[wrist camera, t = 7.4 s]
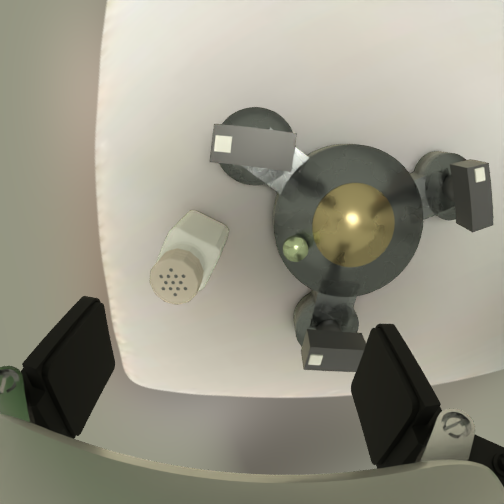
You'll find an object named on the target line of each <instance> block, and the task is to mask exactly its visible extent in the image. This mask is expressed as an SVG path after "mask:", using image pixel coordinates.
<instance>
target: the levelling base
mask: <svg viewBox="0 0 504 504" xmlns="http://www.w3.org/2000/svg"><path fill="white" fill-rule="evenodd" d="M223 125H234V126H243V127H252V128H261V129H268V130H276V131H283V132H290V133H293V132H292V130H291V128H290V126H289V124H288V123H287V122H286V121H285V120H284V119H283V118H282V117H281V116H280V115H278V114H277V113H275V112H273V111H271V110H268V109H265V108H259V107H252V108H245V109H242V110H239V111H237V112H235V113H234V114H232V115H231V116H229V117H228V118H227V119H226V120H225V121H224V123H223ZM461 161H466V159H465V158H463V157H462V156H460V155H458V154H454V153H448V152H441V151H434V152H430V153H428V154H426V155H425V156H423V157H422V158H421V159H420V161H419V162H418V164H417V165H416V167H415V170H414V172H412V173H409V172H408V171H407V170H406V169H405V167H404V166H403V165H402V164H401V163H400V162H398V161H397V160H396V159H395V158H393V157H392V156H390V155H389V154H387V153H385V152H383V151H381V150H379V149H376V148H373V147H370V146H364V145H356V144H337V145H331V146H327V147H324V148H321V149H318V150H316V151H314V152H312V153H310V154H309V155H307V156H306V155H305V154H304V153H302V152H301V151H300V150H299V149H297V148H296V147H295V150H294V157H293V164H292V171H291V172H288V171H282V170H274V169H267V168H259V167H251V166H243V165H234V164H225V163H219V164H220V165H221V167H222V168H223V170H224V171H225V172H226V173H227V174H228V175H229V176H230V177H231V178H233V179H235V180H236V181H239V182H241V183H244V184H248V185H263V184H267V185H268V186H270V187H271V188H272V189H274V190H275V191H276V192H278V194H277V196H276V200H275V205H274V214H273V220H274V233H275V239H276V244H277V247H278V250H279V253H280V256H281V258H282V260H283V262H284V263H285V265H286V266H287V268H288V269H289V271H290V272H291V273H292V274H293V275H294V276H295V277H296V278H297V279H298V280H299V281H300V282H301V283H303V284H304V285H306V286H307V287H309V288H310V289H312V291H311V293H309V294H308V295H306V296H305V297H304V298H303V299H301V301H300V302H299V303H298V305H297V306H296V309H295V312H294V324H295V331H296V337H297V340H298V342H299V344H300V345H301V346H302V345H303V342H304V338H305V334H306V330H307V329H314V330H316V328H317V326H318V325H319V324H320V323H321V322H323V321H326V320H334V321H336V322H338V323H339V325H340V327H341V330H342V332H352V333H357V331H358V326H359V321H358V317H357V315H356V312H355V310H354V308H353V306H354V303H355V300H356V296H360V295H364V294H367V293H370V292H373V291H375V290H377V289H380V288H382V287H383V286H385V285H386V284H388V283H389V282H391V281H392V280H393V279H394V278H396V277H397V276H398V275H399V274H400V273H401V272H402V271H403V270H404V268H405V267H406V266H407V265H408V263H409V262H410V260H411V259H412V257H413V255H414V253H415V251H416V249H417V247H418V244H419V241H420V238H421V233H422V228H423V220H424V219H426V218H429V217H431V216H434V215H436V216H438V217H440V218H441V219H444V220H454V219H456V211H455V202H452V201H450V200H448V199H447V198H446V197H445V195H444V193H443V183H444V180H445V179H446V177H447V176H449V175H450V174H451V170H450V164H452V163H457V162H461Z"/></svg>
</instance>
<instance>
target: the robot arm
mask: <svg viewBox="0 0 504 504" xmlns="http://www.w3.org/2000/svg"><path fill="white" fill-rule="evenodd" d="M22 365H23V367H24V368H23V369H22V371H20V370H19V369H17V368H15V367H13V366H3V367H0V504H504V447H501V446H499V445H497V444H495V443H493V442H490V441H488V440H486V439H484V438H481V437H479V436H477V435H475V424H474V421H473V420H472V418H471V417H470V416H469V415H468V414H467V413H465V412H463V411H462V410H459V409H454V408H449V409H445V410H443V411H442V410H441V408H440V402H439V400H438V398H437V396H436V394H435V393H434V391H433V389H432V387H431V385H430V384H429V382H428V380H427V378H426V377H425V375H424V373H423V371H422V370H421V368H420V366H419V365H418V363H417V361H416V359H415V358H414V356H413V354H412V353H411V351H410V349H409V348H408V346H407V345H406V343H405V341H404V340H403V338H402V336H401V335H400V333H399V332H398V330H397V328H396V327H395V325H394V324H378V325H377V326H376V328H372V330H371V332H370V335H369V338H368V340H367V343H366V346H365V349H364V352H363V355H362V357H361V360H360V363H359V366H358V368H357V371H356V373H355V376H354V379H353V381H352V384H351V392H352V396H353V399H354V402H355V406H356V409H357V412H358V416H359V419H360V422H361V426H362V430H363V433H364V436H365V440H366V443H367V447H368V451H369V455H370V458H371V461H372V463H373V464H374V465H376V466H377V469H371V470H363V471H353V472H343V473H331V474H313V475H260V474H242V473H228V472H219V471H210V470H202V469H195V468H188V467H182V466H175V465H170V464H165V463H160V462H155V461H150V460H146V459H141V458H137V457H133V456H129V455H125V454H121V453H117V452H114V451H110V450H107V449H103V448H100V447H97V446H94V445H91V444H88V443H85V442H82V441H79V440H76V439H74V438H75V436H76V435H77V436H79V435H80V434H81V432H82V430H83V428H84V426H85V424H86V422H87V420H88V418H89V416H90V414H91V412H92V410H93V408H94V406H95V404H96V402H97V400H98V399H99V396H100V394H101V393H102V391H103V389H104V387H105V385H106V383H107V381H108V380H109V378H110V376H111V374H112V372H113V370H114V367H115V360H114V355H113V350H112V346H111V341H110V336H109V331H108V325H107V320H106V314H105V309H104V305H103V304H102V303H100V300H99V299H98V298H93V297H87V296H83V297H82V298H81V299H80V300H79V301H78V302H77V303H76V304H75V305H74V306H73V307H72V308H71V309H70V310H69V311H68V313H67V314H66V315H65V316H64V317H63V318H62V319H61V320H60V321H59V323H57V325H55V327H54V328H53V329H52V330H51V331H50V332H49V333H48V334H47V336H46V337H45V338H44V339H43V340H42V341H41V342H40V344H39V345H38V346H37V347H36V348H35V349H34V351H33V352H32V353H31V354H30V355H29V356H28V358H27V359H26V360H25V361H24V363H23V364H22Z"/></svg>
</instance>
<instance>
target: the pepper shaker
mask: <svg viewBox="0 0 504 504" xmlns="http://www.w3.org/2000/svg"><path fill="white" fill-rule="evenodd" d="M228 233H229V229H228V228H227V227H226V226H225V225H224V224H222V223H220V222H218V221H216V220H214V219H212V218H210V217H208V216H206V215H204V214H202V213H200V212H198V211H193V210H191V211H190V212H188V213H187V214H186V215H185V216H184V217H183V218H182V219H181V220H180V221H179V222H178V223H177V224H176V225H175V226H174V227H173V228H172V229H171V230H170V231H169V233H168V235H167V237H166V240H165V242H164V244H163V247H162V249H161V251H160V254H159V257H158V260H157V262H156V264H155V265H154V267H153V268H152V269H151V272H150V284H151V286H152V288H153V290H154V292H155V294H156V295H157V296H159V297H160V298H161V299H162V300H163V301H165V302H168V303H172V304H176V305H178V304H182V303H186V302H189V301H190V300H191V299H192V298H193V297H194V296H195V295H196V294H197V292H198V291H200V290H202V289H203V288H204V287H205V285H206V283H207V281H208V279H209V277H210V275H211V274H212V272H213V270H214V268H215V266H216V264H217V261H218V259H219V257H220V255H221V252H222V250H223V247H224V245H225V242H226V239H227V237H228Z"/></svg>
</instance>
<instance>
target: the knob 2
mask: <svg viewBox="0 0 504 504" xmlns="http://www.w3.org/2000/svg"><path fill="white" fill-rule="evenodd" d="M450 170H451V174H450V175H449V176H447V177H446V179H445V180H444V183H443V193H444V195H445V197H446V198H447V199H448V200H450V201H452V202H455V211H456V223H457V224H459V225H461V226H462V227H464V228H466V229H468V230H470V231H471V232H475V231H478V230H481V229H483V228H486V227H489V226H492V225H493V205H492V191H491V180H490V170H489V163H486V162H481V161H476V160H471V159H470V160H466V161H461V162H457V163H452V164H450Z"/></svg>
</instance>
